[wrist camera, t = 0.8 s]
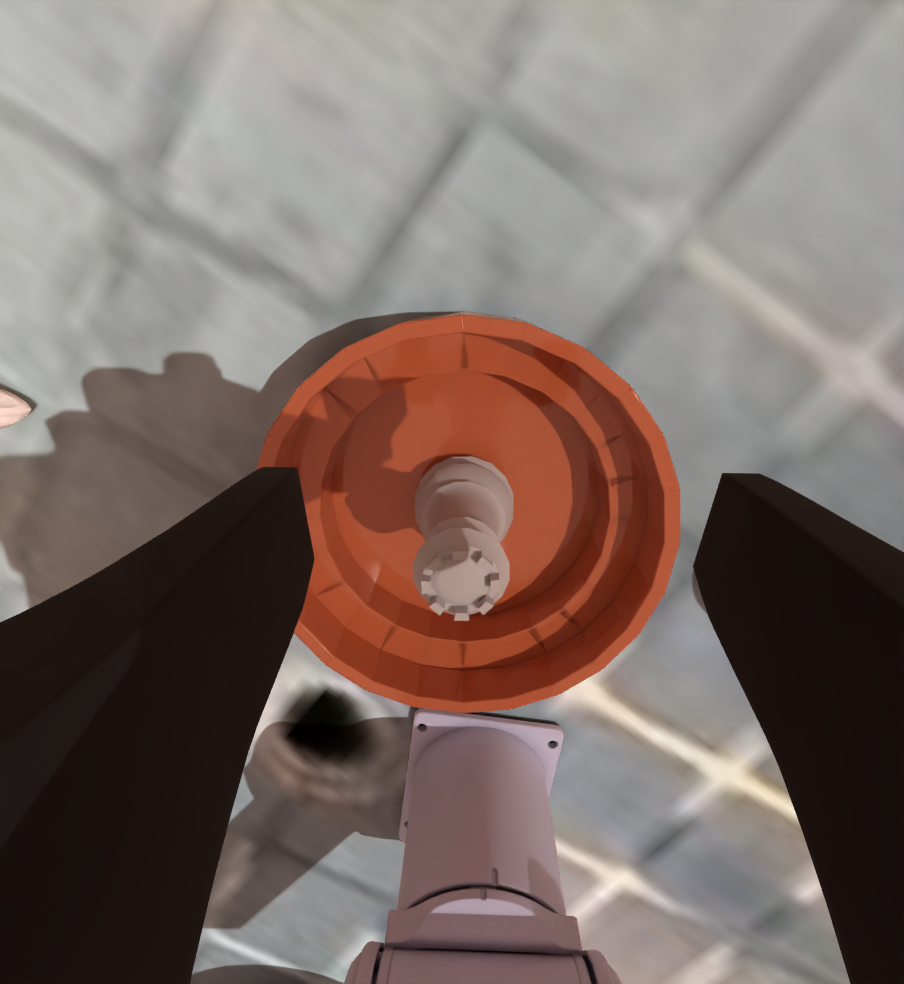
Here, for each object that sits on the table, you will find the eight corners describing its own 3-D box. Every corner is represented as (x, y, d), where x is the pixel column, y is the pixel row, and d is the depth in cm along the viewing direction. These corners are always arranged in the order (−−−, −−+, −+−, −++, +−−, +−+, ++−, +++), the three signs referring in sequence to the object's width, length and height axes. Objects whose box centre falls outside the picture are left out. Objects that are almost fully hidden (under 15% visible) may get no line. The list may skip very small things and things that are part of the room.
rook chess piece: (395, 488, 25) (362, 571, 17) (476, 433, 24) (478, 494, 16) (453, 561, 26) (445, 668, 18) (532, 511, 25) (558, 602, 17)
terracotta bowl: (599, 664, 28) (624, 735, 24) (285, 624, 28) (249, 686, 23) (684, 340, 23) (737, 350, 18) (296, 288, 23) (251, 285, 18)
